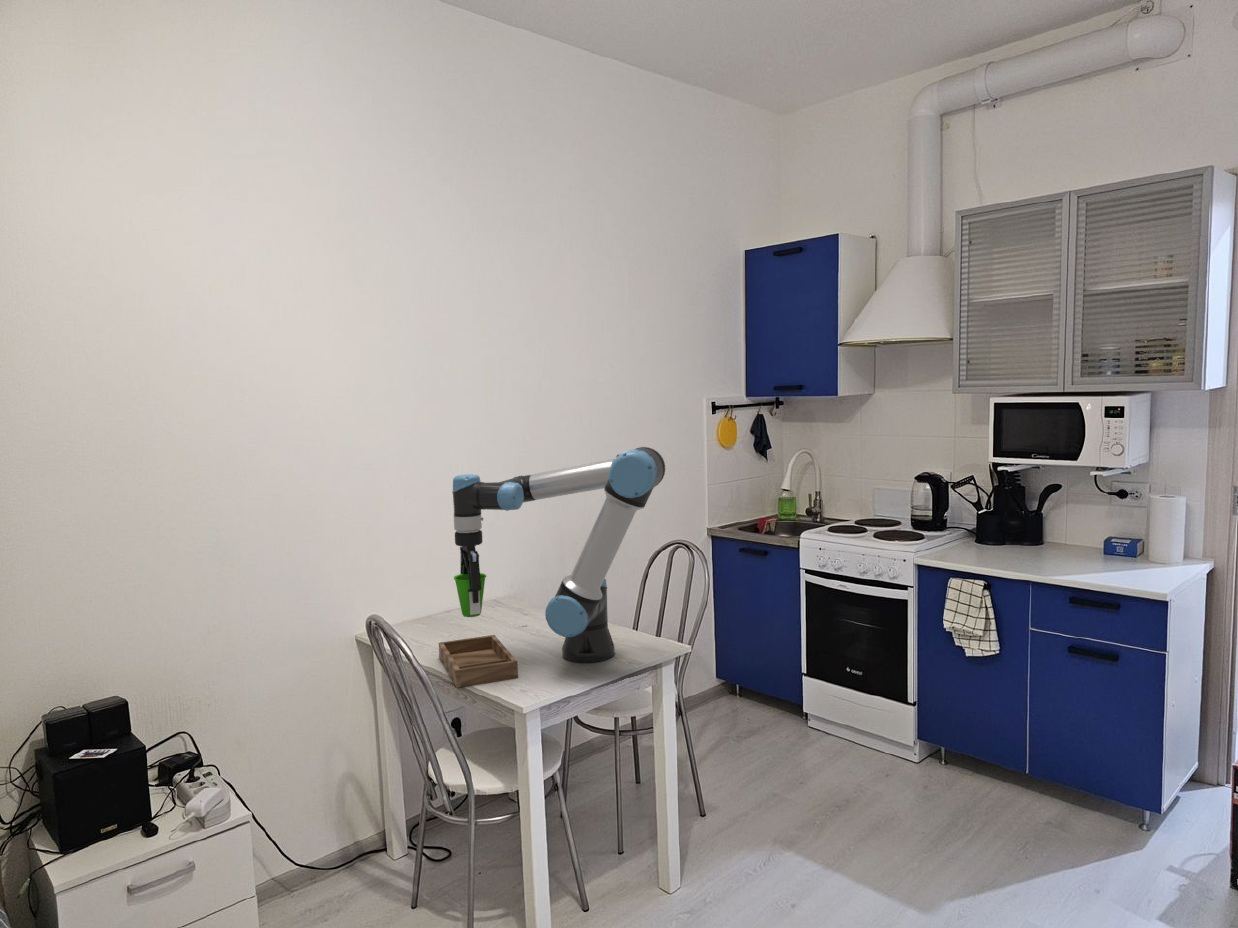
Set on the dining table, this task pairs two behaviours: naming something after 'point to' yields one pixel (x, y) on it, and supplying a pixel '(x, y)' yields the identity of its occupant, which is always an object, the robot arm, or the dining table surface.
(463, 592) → the cup
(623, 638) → the dining table surface
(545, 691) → the dining table surface
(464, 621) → the dining table surface
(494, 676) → the crate
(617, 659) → the dining table surface
